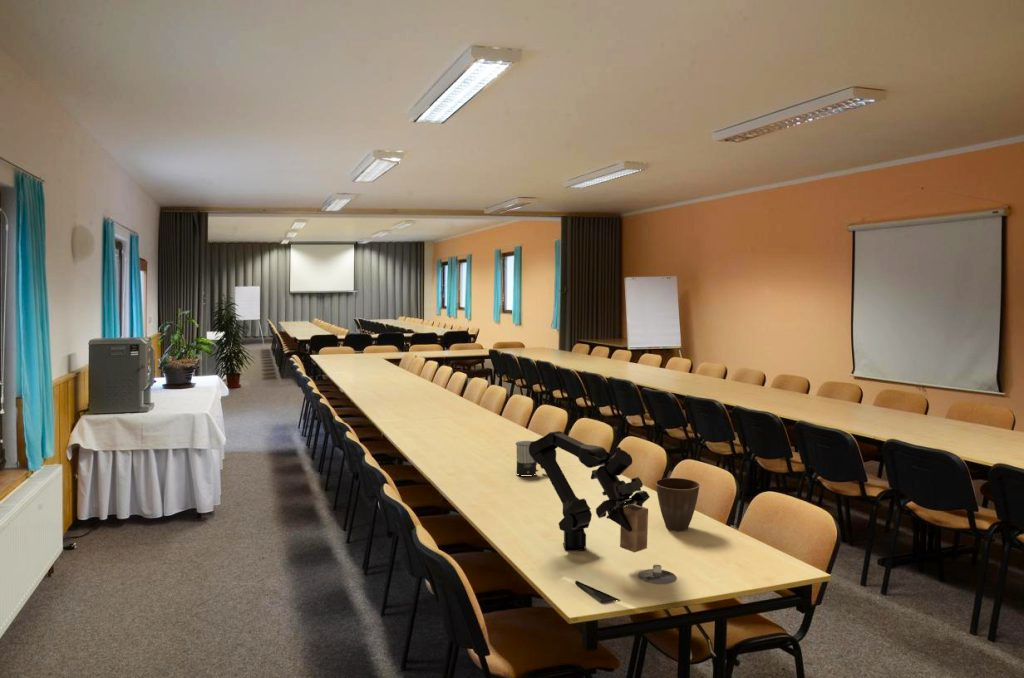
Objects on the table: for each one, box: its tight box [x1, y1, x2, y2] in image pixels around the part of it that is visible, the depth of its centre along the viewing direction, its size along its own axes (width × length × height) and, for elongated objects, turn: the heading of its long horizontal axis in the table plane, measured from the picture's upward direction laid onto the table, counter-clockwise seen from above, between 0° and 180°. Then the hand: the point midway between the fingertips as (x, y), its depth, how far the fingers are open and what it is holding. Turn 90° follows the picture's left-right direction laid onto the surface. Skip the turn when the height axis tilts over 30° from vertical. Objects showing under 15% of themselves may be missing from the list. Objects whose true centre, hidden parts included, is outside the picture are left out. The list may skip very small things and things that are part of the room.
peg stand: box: [637, 564, 677, 585], centre depth 206 cm, size 11×11×4 cm
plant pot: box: [655, 477, 700, 532], centre depth 251 cm, size 15×15×16 cm
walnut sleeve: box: [619, 504, 649, 553], centre depth 212 cm, size 6×6×12 cm
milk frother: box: [515, 440, 544, 475], centre depth 329 cm, size 14×16×15 cm
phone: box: [575, 580, 621, 604], centre depth 198 cm, size 8×1×15 cm
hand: (637, 529), depth 211 cm, fingers closed on walnut sleeve, 6 cm apart
